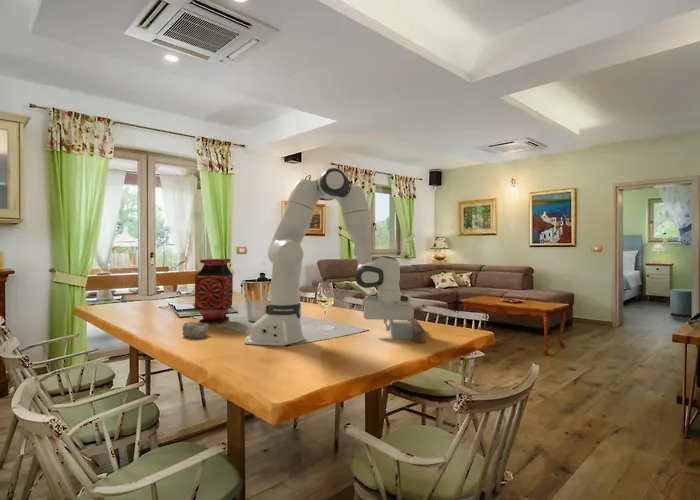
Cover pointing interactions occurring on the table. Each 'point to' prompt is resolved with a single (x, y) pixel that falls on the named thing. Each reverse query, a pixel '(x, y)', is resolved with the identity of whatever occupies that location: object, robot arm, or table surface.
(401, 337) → the block
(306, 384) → the table surface
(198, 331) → the stone
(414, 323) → the dark brown bar
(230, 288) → the vase
